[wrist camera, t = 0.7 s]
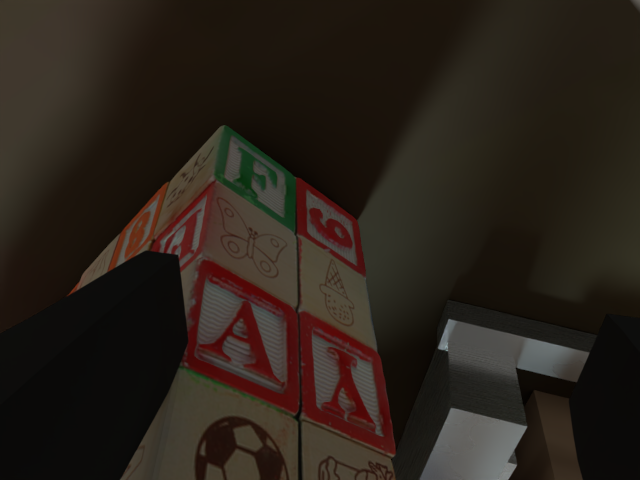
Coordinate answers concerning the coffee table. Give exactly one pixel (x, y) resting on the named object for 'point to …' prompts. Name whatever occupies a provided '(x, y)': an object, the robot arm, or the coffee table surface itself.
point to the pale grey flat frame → (481, 392)
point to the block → (547, 441)
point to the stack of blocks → (261, 327)
